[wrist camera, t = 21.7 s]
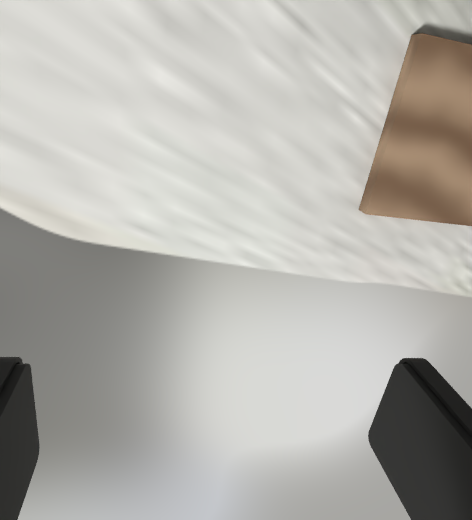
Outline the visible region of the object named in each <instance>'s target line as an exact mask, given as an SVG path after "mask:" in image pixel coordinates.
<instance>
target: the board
mask: <svg viewBox="0 0 472 520" xmlns="http://www.w3.org/2000/svg"><path fill="white" fill-rule="evenodd" d="M359 210H360V211H362V212H363V213H365V214H369V215H378V216H387V217H396V218H405V219H413V220H422V221H431V222H440V223H449V224H458V225H467V226H472V45H471V44H466V43H462V42H458V41H453V40H449V39H445V38H441V37H436V36H432V35H428V34H423V33H420V34H414V35H412V36H411V39H410V42H409V46H408V49H407V52H406V55H405V59H404V62H403V65H402V69H401V72H400V75H399V79H398V82H397V85H396V88H395V92H394V95H393V98H392V102H391V105H390V108H389V112H388V115H387V118H386V121H385V125H384V128H383V131H382V135H381V138H380V141H379V144H378V148H377V151H376V154H375V158H374V161H373V164H372V168H371V171H370V174H369V177H368V181H367V184H366V187H365V191H364V194H363V197H362V201H361V204H360V207H359Z"/></svg>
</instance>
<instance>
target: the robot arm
mask: <svg viewBox="0 0 472 520" xmlns="http://www.w3.org/2000/svg"><path fill="white" fill-rule="evenodd" d="M368 437H369V442H370V445H371V447H372V449H373V451H374V453H375V455H376V456H377V458H378V460H379V462H380V464H381V465H382V467H383V469H384V471H385V473H386V475H387V477H388V478H389V480H390V482H391V484H392V486H393V487H394V489H395V491H396V493H397V495H398V497H399V498H400V500H401V502H402V504H403V505H404V507H405V509H406V511H407V513H408V515H409V516H410V518H411V520H472V409H471V407H470V406H469V405H468V404H467V403H466V402H465V401H464V400H463V399H462V398H461V397H460V395H459V394H458V393H457V392H456V391H455V390H454V389H453V388H452V387H451V386H450V385H449V384H448V382H447V381H446V380H445V379H444V378H443V377H442V376H441V375H440V374H439V373H438V371H437V370H436V369H435V368H434V367H433V366H432V365H431V364H430V363H429V362H428V361H427V360H426V359H423V358H404V359H402V360H400V362H399V364H396V365H395V367H394V369H393V372H392V374H391V377H390V379H389V382H388V384H387V387H386V389H385V392H384V394H383V397H382V400H381V402H380V405H379V407H378V410H377V412H376V415H375V417H374V420H373V423H372V425H371V428H370V430H369V435H368ZM38 455H39V439H38V429H37V420H36V411H35V402H34V393H33V385H32V375H31V367H30V365H29V364H23V363H22V359H21V358H19V357H0V520H17V519H18V516H19V513H20V510H21V507H22V504H23V501H24V498H25V496H26V493H27V490H28V487H29V484H30V481H31V478H32V475H33V472H34V469H35V466H36V463H37V460H38Z"/></svg>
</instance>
